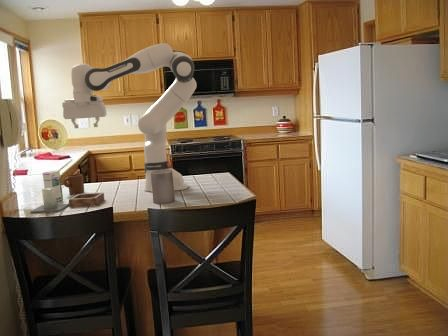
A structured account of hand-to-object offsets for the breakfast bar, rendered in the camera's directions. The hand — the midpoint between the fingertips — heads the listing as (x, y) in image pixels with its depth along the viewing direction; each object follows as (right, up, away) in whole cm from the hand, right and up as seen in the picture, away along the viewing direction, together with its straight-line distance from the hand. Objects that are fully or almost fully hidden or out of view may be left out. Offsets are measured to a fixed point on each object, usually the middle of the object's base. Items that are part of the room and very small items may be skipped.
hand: (86, 127), depth 238 cm
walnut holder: (+3, -36, -9) cm, 37 cm away
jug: (-11, -37, -17) cm, 42 cm away
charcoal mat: (-11, -38, -17) cm, 43 cm away
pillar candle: (+39, -35, -17) cm, 55 cm away
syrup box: (-16, -36, +2) cm, 39 cm away
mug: (-11, -33, +17) cm, 39 cm away
